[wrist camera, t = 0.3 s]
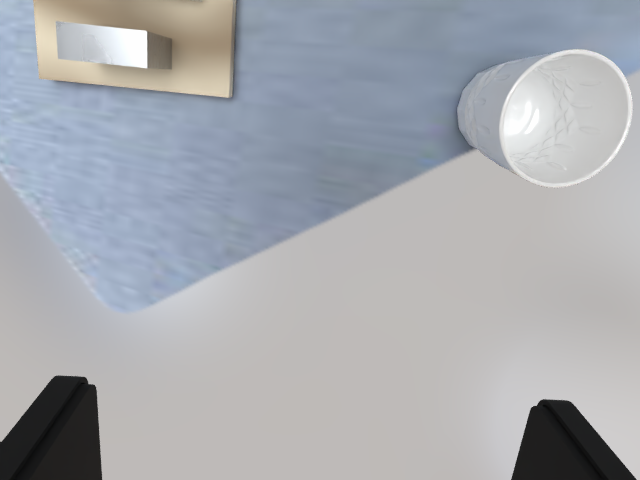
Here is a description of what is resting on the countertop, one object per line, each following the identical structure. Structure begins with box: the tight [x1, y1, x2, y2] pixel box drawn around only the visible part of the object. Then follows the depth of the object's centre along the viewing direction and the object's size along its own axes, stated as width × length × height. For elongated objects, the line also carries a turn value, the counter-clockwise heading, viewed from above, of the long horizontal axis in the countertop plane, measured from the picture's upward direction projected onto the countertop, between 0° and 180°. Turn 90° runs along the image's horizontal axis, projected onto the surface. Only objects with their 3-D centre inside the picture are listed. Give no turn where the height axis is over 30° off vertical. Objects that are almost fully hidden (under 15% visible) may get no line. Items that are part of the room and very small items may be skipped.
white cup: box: [457, 49, 632, 188], centre depth 33 cm, size 8×8×10 cm
